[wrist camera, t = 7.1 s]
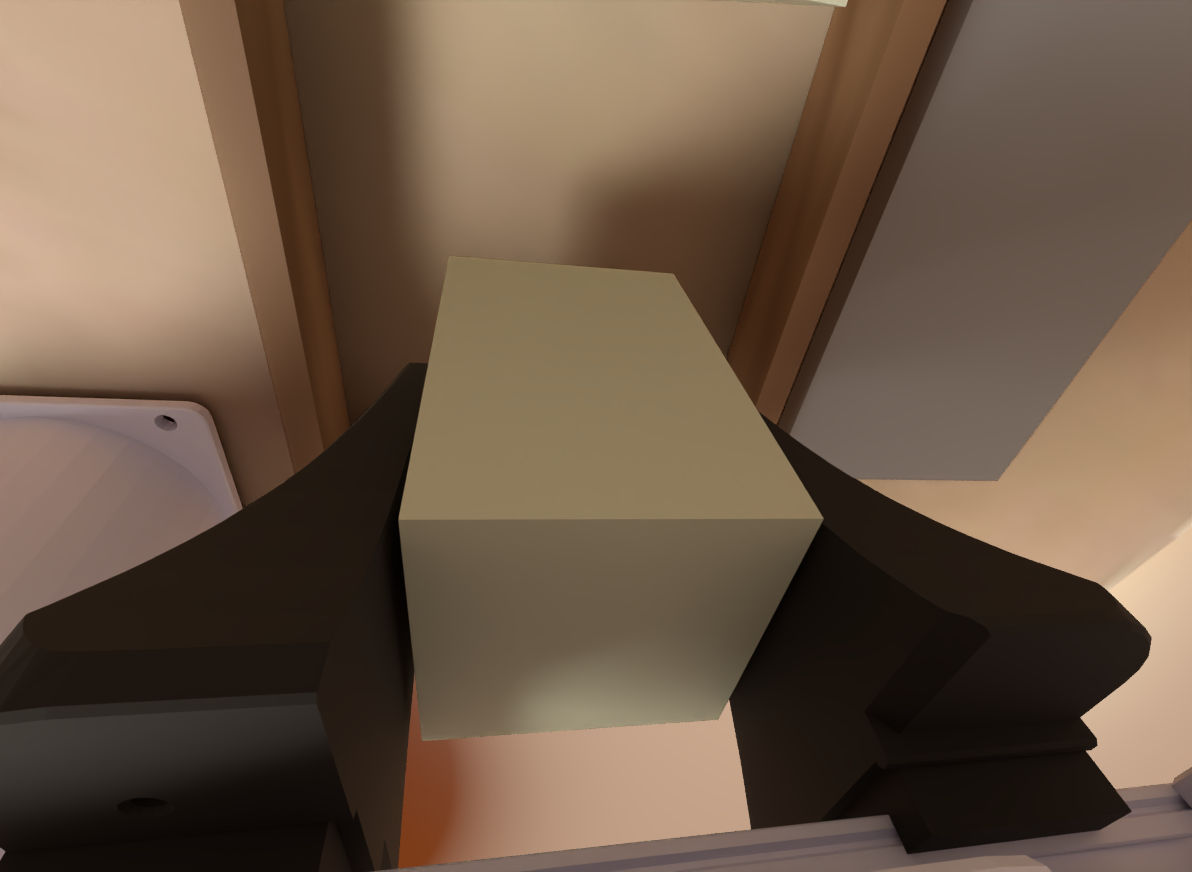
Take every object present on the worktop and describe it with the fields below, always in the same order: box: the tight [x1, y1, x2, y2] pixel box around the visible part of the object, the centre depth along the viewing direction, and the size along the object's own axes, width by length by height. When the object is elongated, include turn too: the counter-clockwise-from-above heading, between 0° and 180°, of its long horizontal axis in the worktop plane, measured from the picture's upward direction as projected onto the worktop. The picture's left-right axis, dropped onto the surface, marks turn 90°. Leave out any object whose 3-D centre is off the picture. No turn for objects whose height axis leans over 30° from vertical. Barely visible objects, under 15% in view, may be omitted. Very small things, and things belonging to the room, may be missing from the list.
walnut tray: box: [179, 0, 946, 474], centre depth 12 cm, size 13×20×2 cm, turn 172°
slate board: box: [778, 0, 1192, 481], centre depth 16 cm, size 9×14×1 cm, turn 172°
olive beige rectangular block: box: [398, 256, 824, 741], centre depth 10 cm, size 4×5×7 cm
